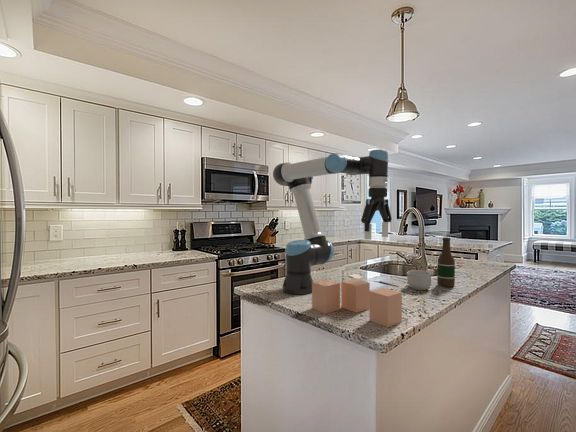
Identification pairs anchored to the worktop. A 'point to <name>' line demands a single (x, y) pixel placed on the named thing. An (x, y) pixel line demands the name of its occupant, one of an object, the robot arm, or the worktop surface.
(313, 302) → the peach colored cube
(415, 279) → the teacup
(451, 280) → the beer bottle
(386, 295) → the tan peach cube
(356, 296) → the smooth terracotta cube
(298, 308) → the worktop surface
